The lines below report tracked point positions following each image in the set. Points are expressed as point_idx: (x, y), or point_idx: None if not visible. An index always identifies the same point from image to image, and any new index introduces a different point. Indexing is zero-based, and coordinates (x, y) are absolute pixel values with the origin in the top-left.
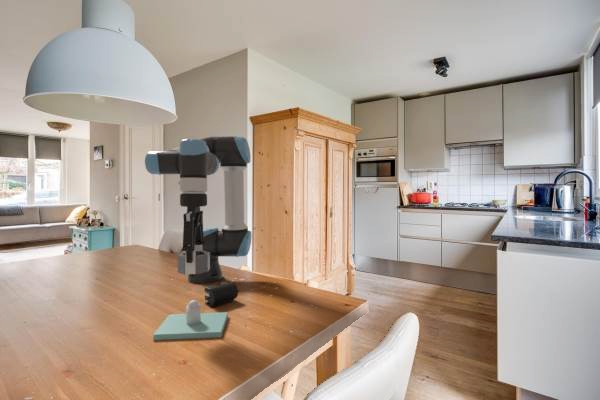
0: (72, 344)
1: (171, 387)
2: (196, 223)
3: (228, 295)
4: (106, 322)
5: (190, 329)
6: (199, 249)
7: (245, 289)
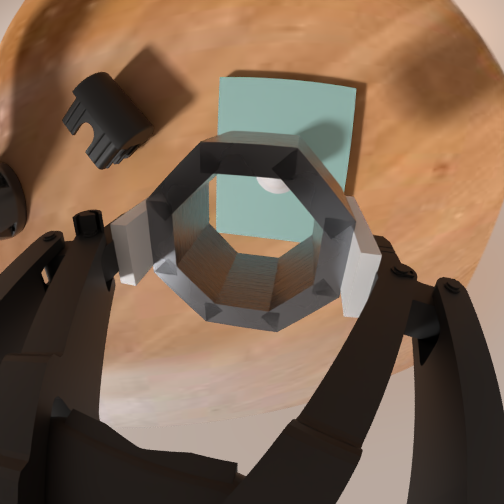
0: (309, 355)
1: (496, 185)
2: (337, 497)
3: (122, 93)
4: (225, 336)
5: (325, 165)
6: (144, 228)
7: (48, 81)
